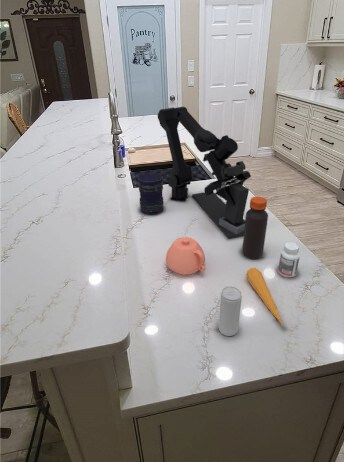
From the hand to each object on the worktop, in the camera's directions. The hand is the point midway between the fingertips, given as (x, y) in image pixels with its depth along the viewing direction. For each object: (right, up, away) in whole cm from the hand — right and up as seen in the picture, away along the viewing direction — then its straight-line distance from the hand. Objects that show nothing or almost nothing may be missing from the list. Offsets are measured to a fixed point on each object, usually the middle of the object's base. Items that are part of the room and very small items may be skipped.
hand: (238, 203), depth 117 cm
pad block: (-1, -6, +4) cm, 7 cm away
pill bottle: (+11, -21, -16) cm, 29 cm away
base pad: (-4, -4, +17) cm, 18 cm away
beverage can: (-10, -32, -35) cm, 49 cm away
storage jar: (-32, -3, +21) cm, 38 cm away
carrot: (+2, -27, -27) cm, 38 cm away
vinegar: (+3, -17, -8) cm, 19 cm away
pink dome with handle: (-19, -20, -13) cm, 31 cm away
